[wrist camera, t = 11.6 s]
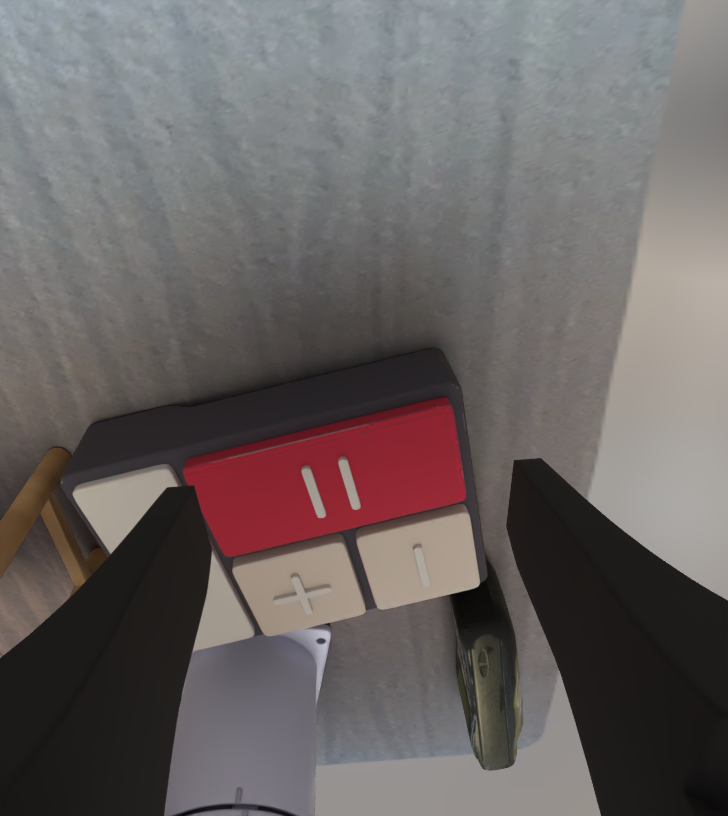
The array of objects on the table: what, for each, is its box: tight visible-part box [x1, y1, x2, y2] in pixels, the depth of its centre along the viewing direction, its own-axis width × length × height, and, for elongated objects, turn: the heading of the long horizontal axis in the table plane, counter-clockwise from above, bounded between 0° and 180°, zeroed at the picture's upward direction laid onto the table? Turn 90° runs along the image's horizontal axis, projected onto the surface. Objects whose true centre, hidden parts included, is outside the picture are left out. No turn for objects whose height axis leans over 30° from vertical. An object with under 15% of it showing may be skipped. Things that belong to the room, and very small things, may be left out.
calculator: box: [60, 348, 488, 651], centre depth 24 cm, size 11×4×15 cm
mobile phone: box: [449, 562, 523, 770], centre depth 31 cm, size 5×3×15 cm
